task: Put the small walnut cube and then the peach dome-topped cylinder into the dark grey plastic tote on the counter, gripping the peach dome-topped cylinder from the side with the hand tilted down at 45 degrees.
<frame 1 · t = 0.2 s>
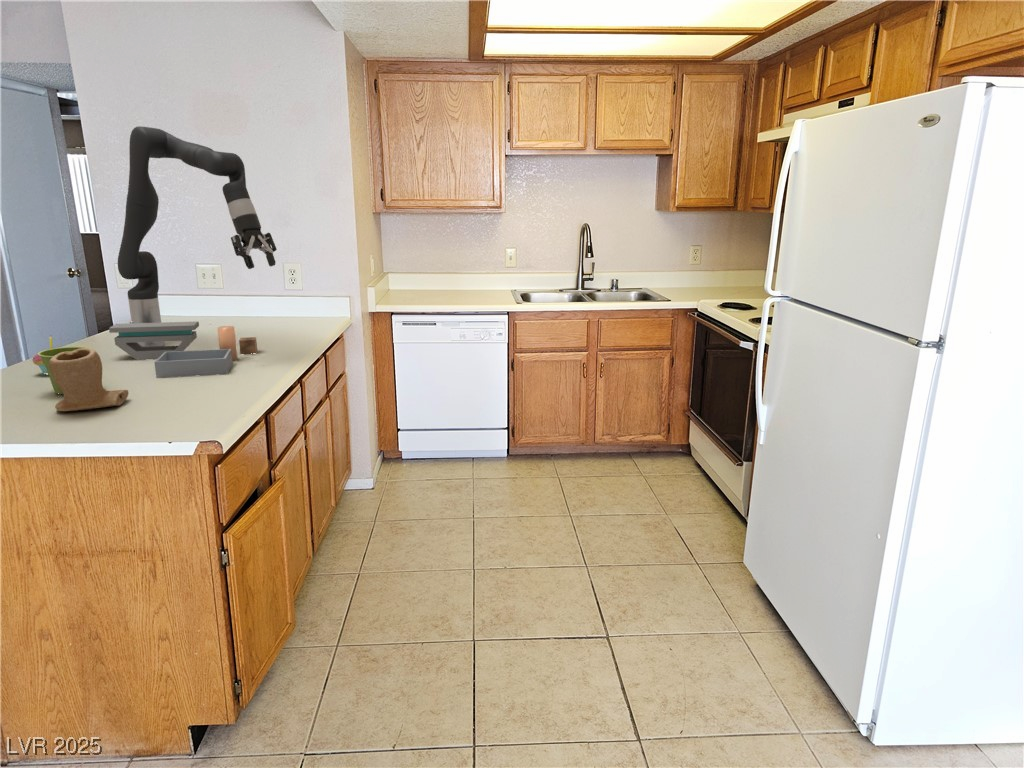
hand: (262, 267, 203), 31 cm above the counter, tool tilted 20°, fingers open, 8 cm apart
plant pot: (71, 392, 176), on the counter
cupcake: (53, 374, 194), on the counter
cube: (249, 353, 225), on the counter
tan hollow clay piece: (92, 409, 162), on the counter
tote: (196, 370, 200), on the counter
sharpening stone: (159, 357, 217), on the counter
peach dome-topped cylinder: (229, 360, 213), on the counter
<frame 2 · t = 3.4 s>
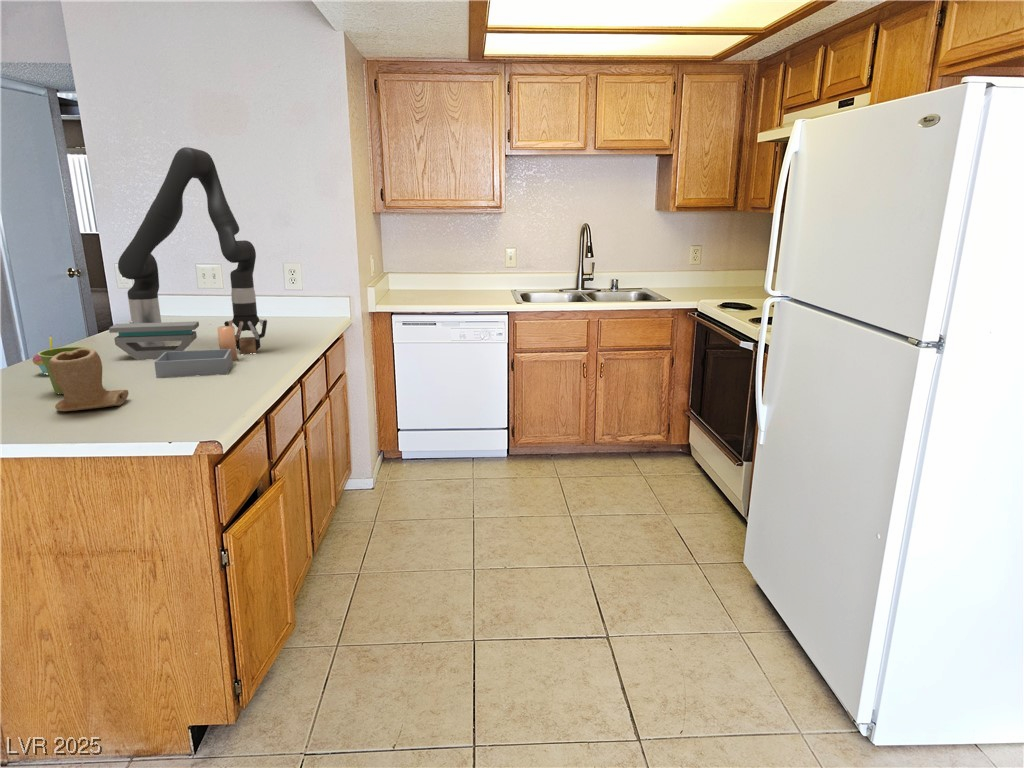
hand: (248, 349, 225), 1 cm above the counter, tool pointing down, fingers closed on cube, 5 cm apart
cube: (249, 352, 225), on the counter, touching gripper
everything else where it was.
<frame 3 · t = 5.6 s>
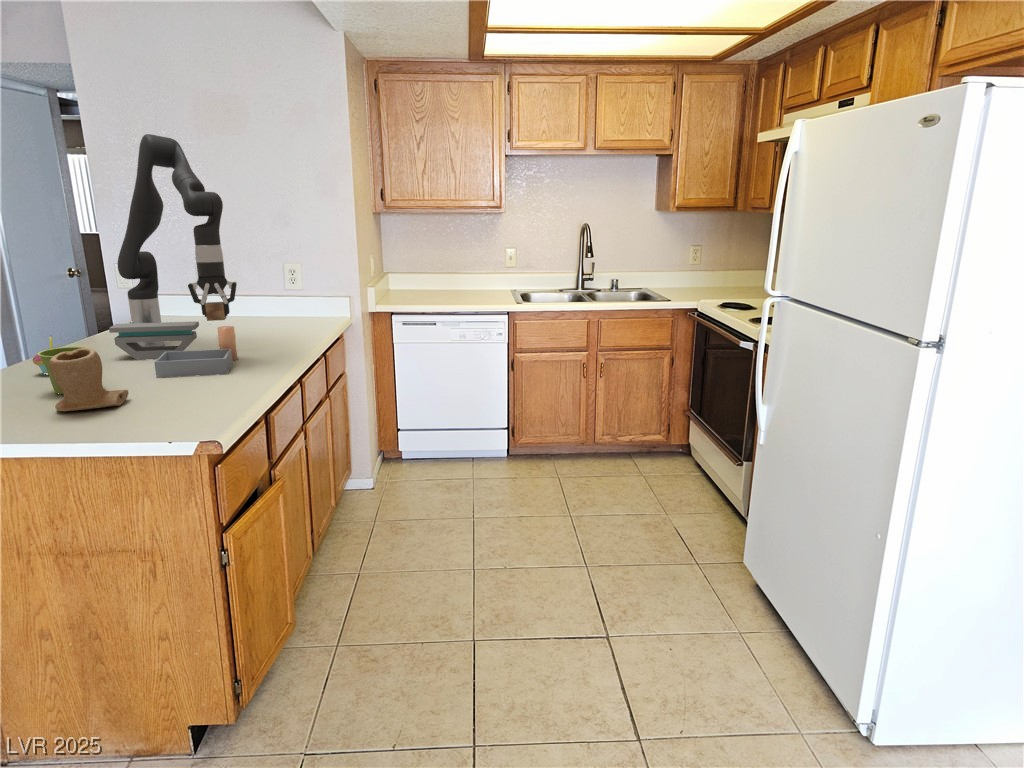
hand: (216, 315, 201), 16 cm above the counter, tool pointing down, fingers closed on cube, 5 cm apart
cube: (216, 319, 201), point 15 cm above the counter, touching gripper
everything else where it was.
when the fingers open (3 cm above the counter, at t = 8.3 s): cube drops 1 cm, resting on tote.
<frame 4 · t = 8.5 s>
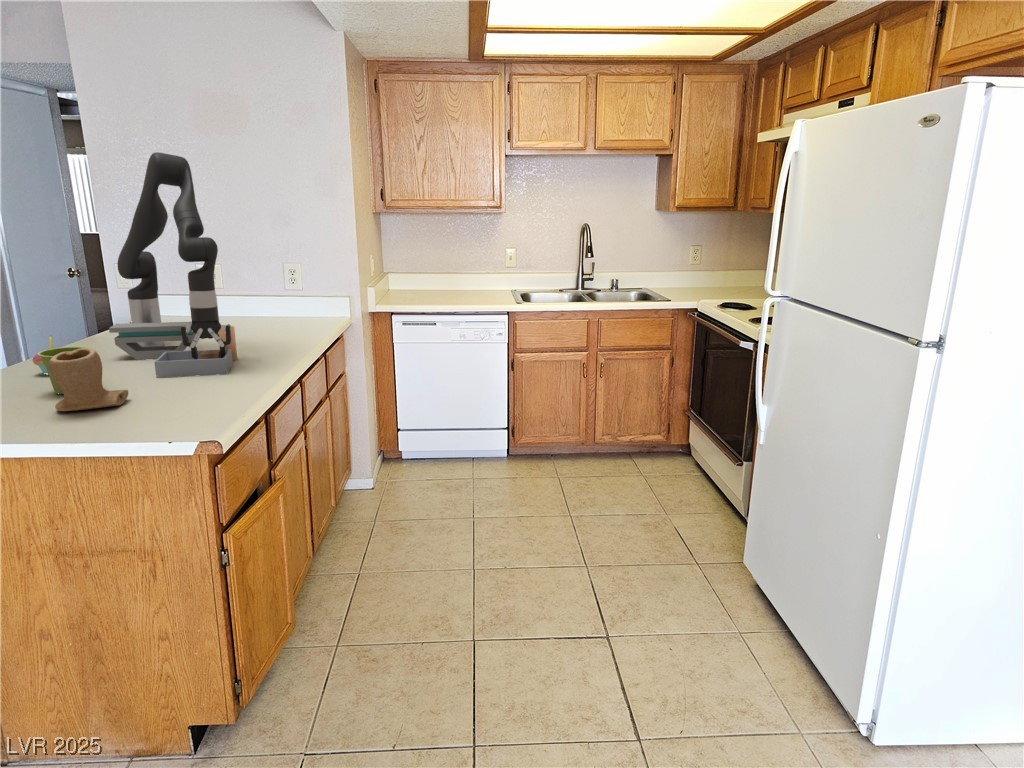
hand: (209, 358, 200), 3 cm above the counter, tool pointing down, fingers open, 7 cm apart
cube: (211, 367, 201), point 1 cm above the counter, touching tote
everything else where it was.
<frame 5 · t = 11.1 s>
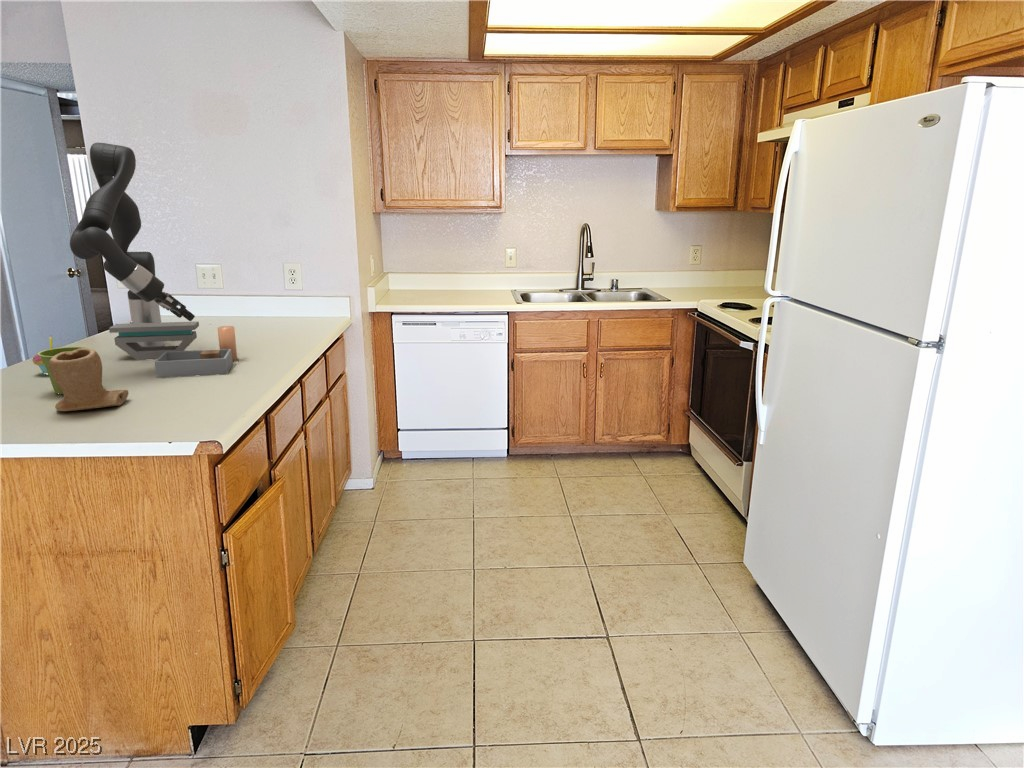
hand: (187, 317, 201), 16 cm above the counter, tool tilted 45°, fingers open, 8 cm apart
nothing on the counter moved.
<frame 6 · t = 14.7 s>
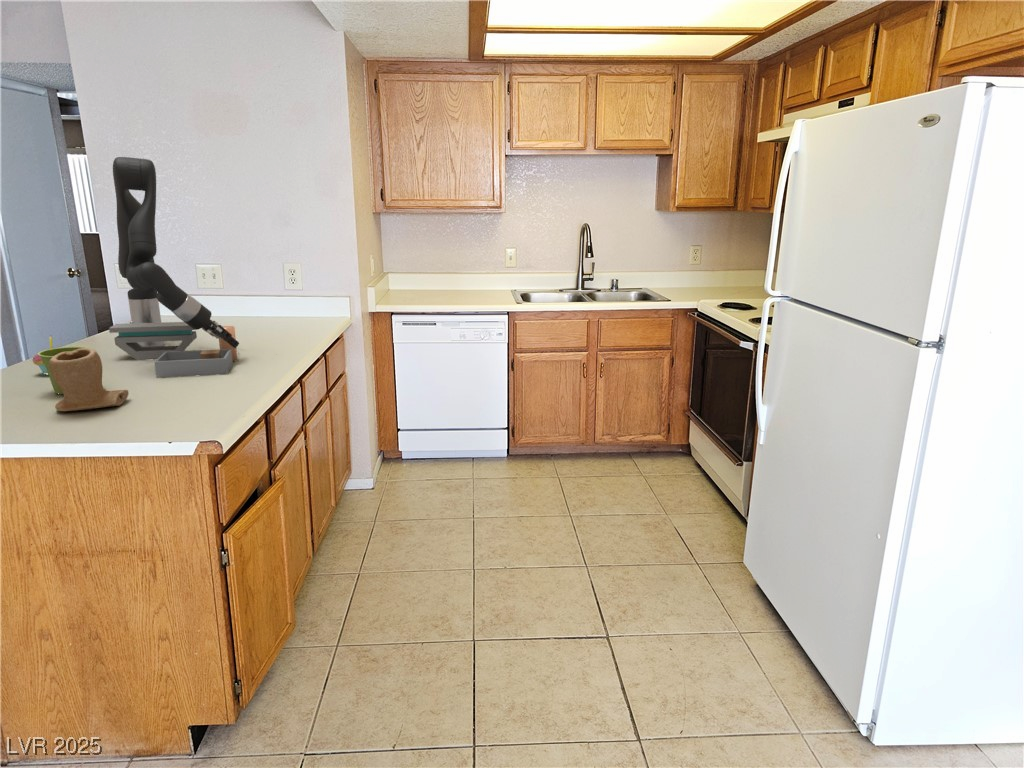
hand: (233, 344, 213), 5 cm above the counter, tool tilted 45°, fingers closed on peach dome-topped cylinder, 5 cm apart
peach dome-topped cylinder: (229, 360, 213), on the counter, touching gripper
everything else where it was.
when the fingers open (9 cm above the counter, at t = 19.1 s): peach dome-topped cylinder drops 3 cm, resting on tote.
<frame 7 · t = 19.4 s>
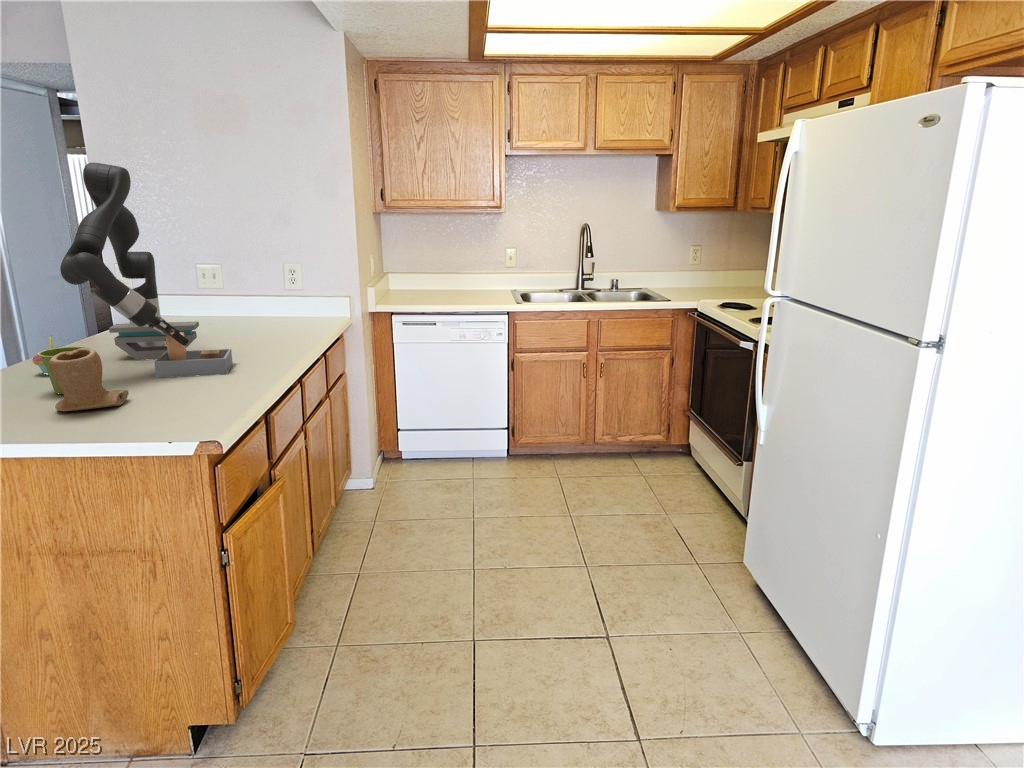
hand: (181, 341, 197), 9 cm above the counter, tool tilted 45°, fingers open, 7 cm apart
peach dome-topped cylinder: (179, 369, 199), point 1 cm above the counter, touching tote
everything else where it was.
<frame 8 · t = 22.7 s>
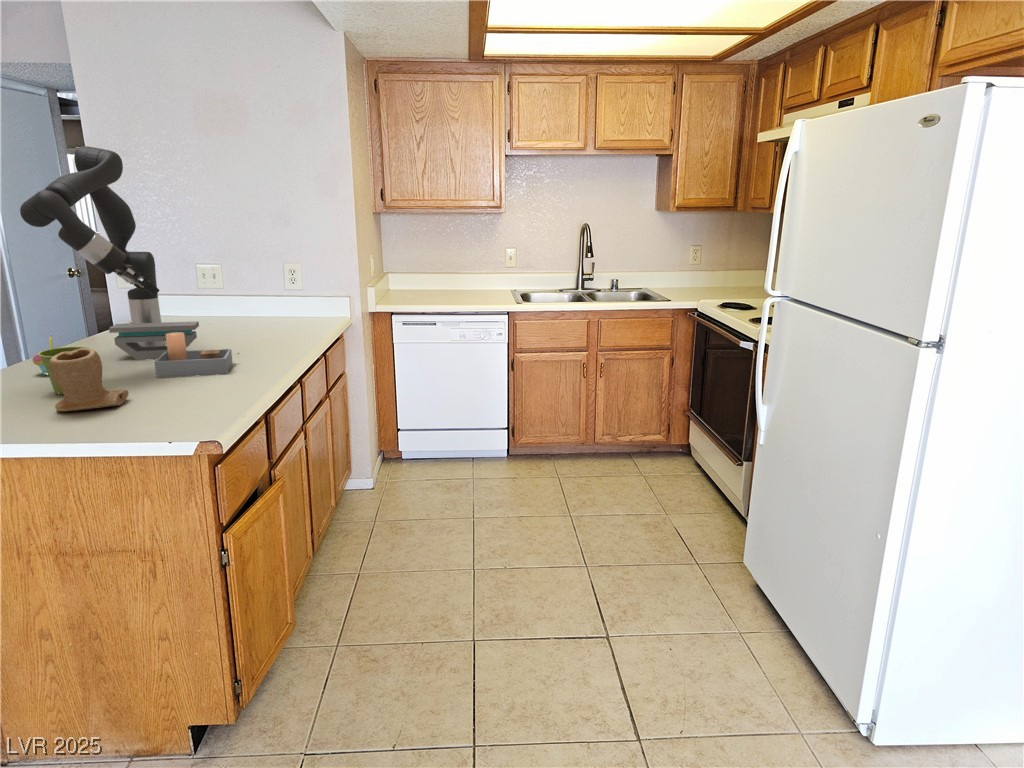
hand: (152, 291, 189), 25 cm above the counter, tool tilted 45°, fingers open, 8 cm apart
nothing on the counter moved.
at the end: peach dome-topped cylinder inside the target area on the tote (4.7 cm from its centre), point 0.6 cm above the tote's base; cube inside the target area on the tote (4.5 cm from its centre), point 0.6 cm above the tote's base; the gripper is holding nothing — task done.
